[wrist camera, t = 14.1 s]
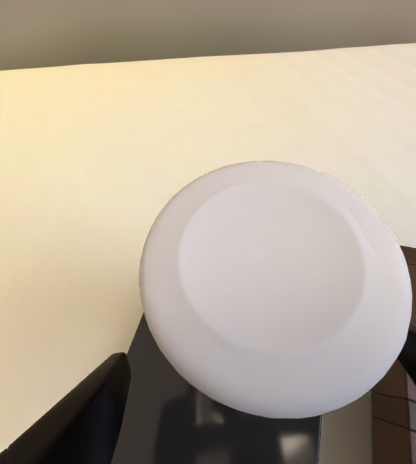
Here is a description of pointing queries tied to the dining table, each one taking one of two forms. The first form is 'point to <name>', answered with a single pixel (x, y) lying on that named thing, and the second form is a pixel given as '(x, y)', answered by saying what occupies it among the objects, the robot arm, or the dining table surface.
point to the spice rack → (396, 401)
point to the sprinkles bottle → (275, 289)
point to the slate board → (199, 421)
